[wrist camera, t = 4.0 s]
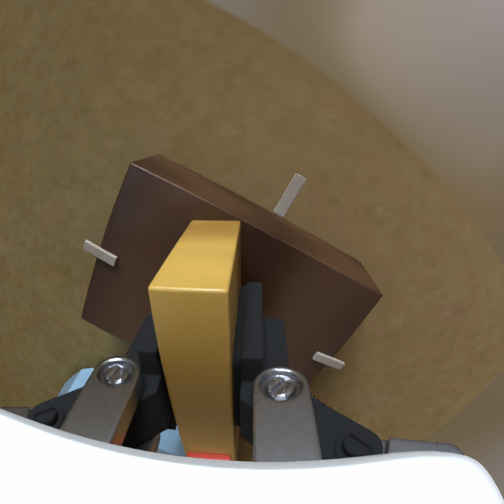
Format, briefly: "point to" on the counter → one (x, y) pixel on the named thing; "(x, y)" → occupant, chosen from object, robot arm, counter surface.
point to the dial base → (252, 261)
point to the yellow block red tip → (200, 335)
